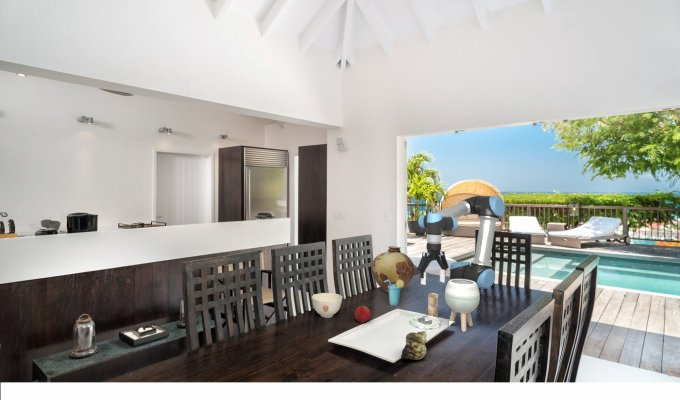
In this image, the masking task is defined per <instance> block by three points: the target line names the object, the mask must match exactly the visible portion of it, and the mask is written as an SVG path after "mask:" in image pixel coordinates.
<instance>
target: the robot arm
mask: <svg viewBox="0 0 680 400" xmlns="http://www.w3.org/2000/svg"><path fill="white" fill-rule="evenodd" d="M505 212H506V204H505V201H504V200H503V199H502V197H500V196H498V195H495V196H494V195H473V196H470V197H467V198H465V199H462V200H459V201H458V202H457V203H456V204H454V205H451V206H449V207H446V208H444V209H440V210H439V211H435V212H428V213H427V214H422V215H420V217H419V218H418V226H419V227H420V228H421V229H426V242H427V243H426V247H425V248H426V251H427V252H424V251H423V252H422V254H421V258H420V261H419V263H418V266H417V268H416V270H417V272H418V271H419V272H420V273H419V274H420V277H419V278H420V285H424V286H426V284H427V283H426V282H427V271H426V270H427V268H428V267H429V265H430V264H431V262H434V261H436V262H437V264H438V265H439V267H440V269H439V282H440V283H446V282H445V281H446V277H445V276H446V273H447V271H448V269H449V280H452V279H466V280H471V281H474V282H476V284H477V286H478V289H485V290H486V289H489V288H490V287H492V285H493V284H494V282H495V280H496V272H495V271H494V270H493V266H492V264H491V257H492V249H493V244H494V236H495V229H496V223H497V222H499V220H500V217H503V215H504V214H505ZM470 215H475V216H477V217H478V219H479V227H478V233H477V240H476V247H475V253H474V260H473V261H471V262H469V261H456V262H452V263H451V264H450V267H449V263H448V260H447V257H446V255H445V253H446V251H443V250H442V236H443V235H442V234H443V232H445V231H446V232H447V231H448V232H449V231H450V232H451V231H455V230H456V229H457V228H458V226H459V221H458V219H457V218H459V217H461V216H462V217H463V216H464V217H465V216H470Z"/></svg>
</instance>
